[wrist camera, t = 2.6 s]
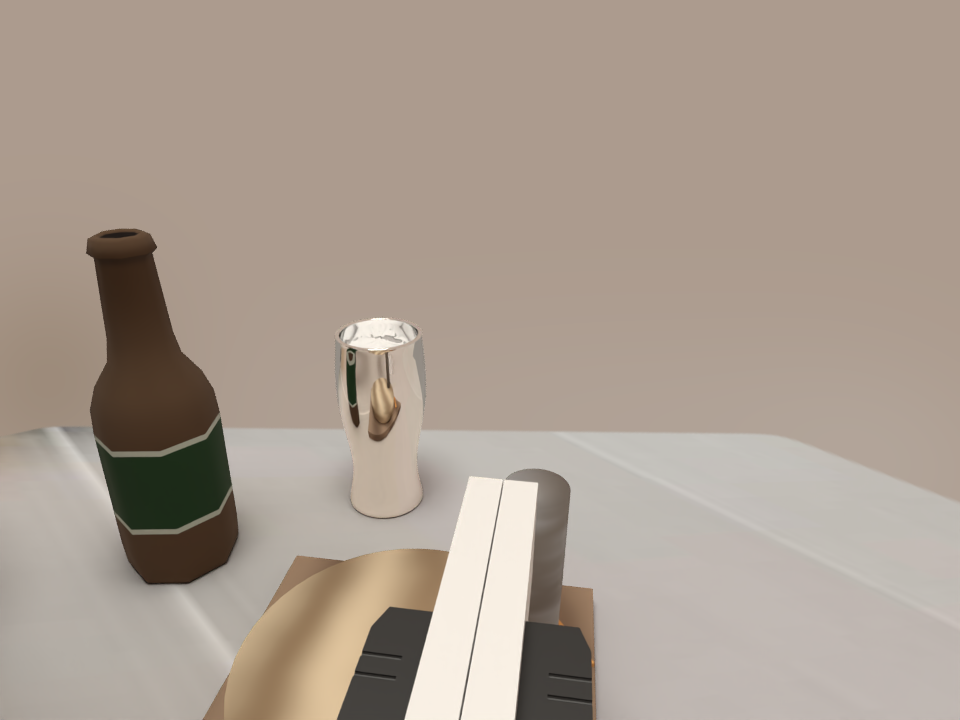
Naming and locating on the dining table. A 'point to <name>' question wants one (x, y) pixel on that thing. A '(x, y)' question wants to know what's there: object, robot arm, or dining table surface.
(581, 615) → the dial base
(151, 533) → the beer bottle
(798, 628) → the dining table surface
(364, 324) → the beer glass
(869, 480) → the dining table surface
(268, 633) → the cam dial
